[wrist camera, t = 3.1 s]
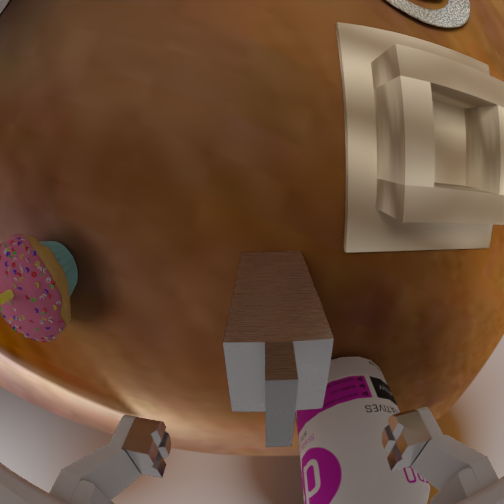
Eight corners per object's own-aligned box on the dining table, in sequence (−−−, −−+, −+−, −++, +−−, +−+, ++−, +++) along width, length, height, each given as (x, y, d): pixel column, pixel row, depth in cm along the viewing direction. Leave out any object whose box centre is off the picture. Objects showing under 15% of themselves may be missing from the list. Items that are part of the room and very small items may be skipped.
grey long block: (241, 252, 19) (215, 380, 8) (300, 250, 19) (346, 375, 8) (244, 304, 21) (227, 446, 9) (299, 303, 20) (328, 442, 9)
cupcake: (42, 200, 18) (-71, 244, 7) (112, 261, 20) (8, 352, 9) (21, 273, 21) (-61, 333, 10) (80, 328, 22) (9, 415, 11)
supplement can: (282, 408, 24) (288, 551, 10) (312, 344, 22) (348, 523, 7) (355, 414, 25) (387, 537, 10) (394, 355, 22) (461, 492, 8)
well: (335, 25, 14) (353, -5, 10) (484, 66, 13) (517, 57, 9) (343, 249, 19) (364, 276, 15) (485, 245, 18) (518, 264, 14)
